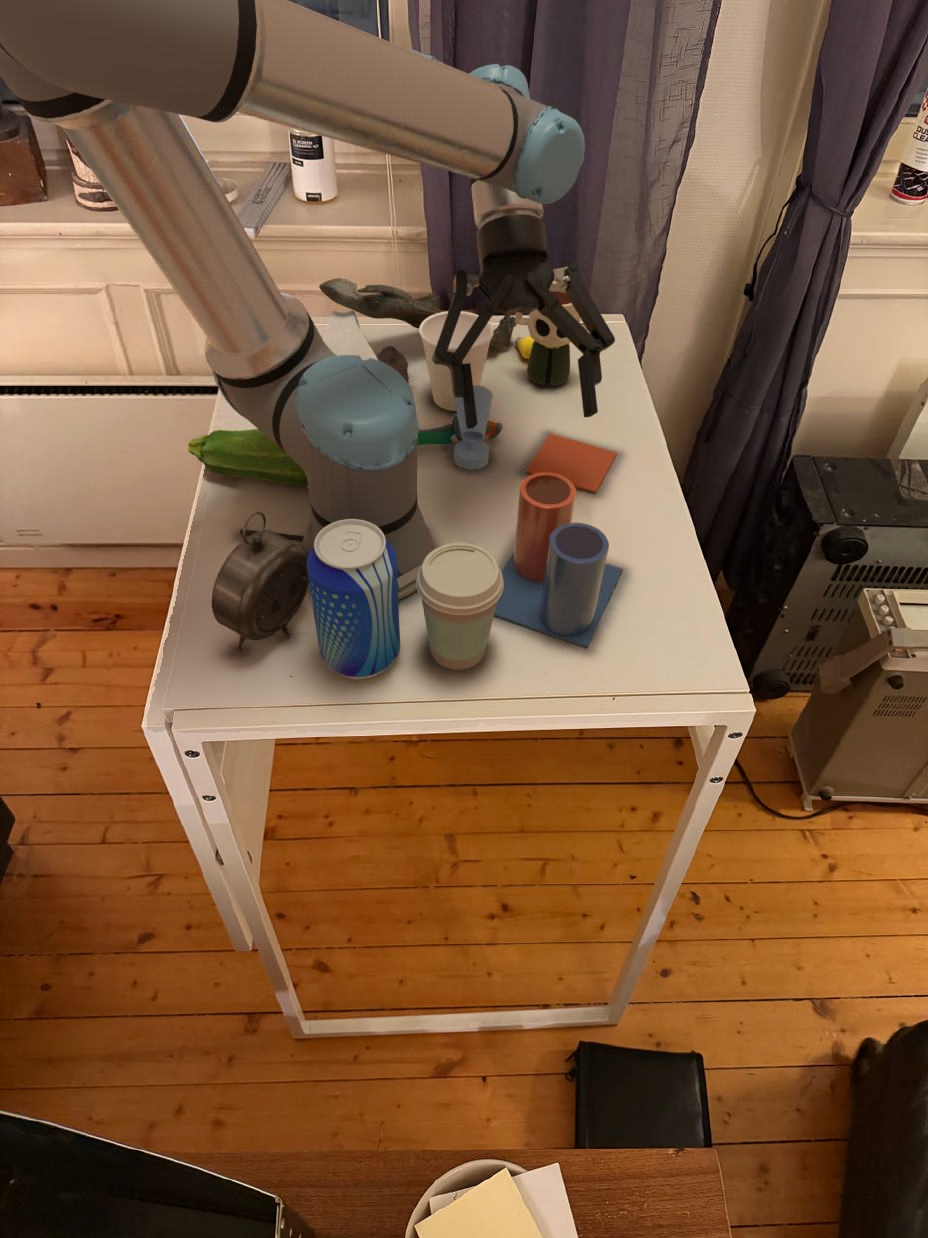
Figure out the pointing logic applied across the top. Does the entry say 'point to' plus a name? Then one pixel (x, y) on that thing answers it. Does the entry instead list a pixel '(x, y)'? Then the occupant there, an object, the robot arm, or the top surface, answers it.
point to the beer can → (355, 598)
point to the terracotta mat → (573, 462)
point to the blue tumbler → (573, 578)
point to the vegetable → (247, 457)
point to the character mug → (549, 343)
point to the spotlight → (473, 431)
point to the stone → (394, 361)
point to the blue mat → (525, 600)
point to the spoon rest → (347, 336)
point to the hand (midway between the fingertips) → (532, 420)
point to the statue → (399, 305)
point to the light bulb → (525, 345)
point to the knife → (452, 433)
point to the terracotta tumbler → (540, 520)
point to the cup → (475, 356)
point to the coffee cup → (459, 602)
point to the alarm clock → (260, 585)
